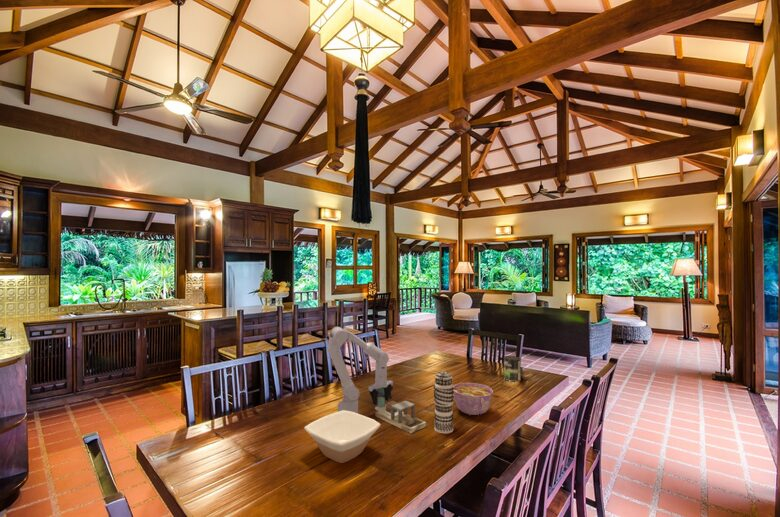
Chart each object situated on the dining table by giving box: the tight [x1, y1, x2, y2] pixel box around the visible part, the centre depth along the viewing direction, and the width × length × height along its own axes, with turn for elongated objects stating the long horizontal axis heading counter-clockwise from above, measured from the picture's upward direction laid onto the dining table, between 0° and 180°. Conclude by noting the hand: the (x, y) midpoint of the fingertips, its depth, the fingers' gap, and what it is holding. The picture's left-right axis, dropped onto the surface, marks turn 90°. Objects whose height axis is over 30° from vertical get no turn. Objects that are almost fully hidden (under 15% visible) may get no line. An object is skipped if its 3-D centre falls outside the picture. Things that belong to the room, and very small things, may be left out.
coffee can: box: [503, 355, 521, 382], centre depth 229 cm, size 10×10×14 cm
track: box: [375, 400, 427, 434], centre depth 166 cm, size 10×24×8 cm, turn 42°
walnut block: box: [385, 400, 398, 413], centre depth 171 cm, size 4×4×4 cm
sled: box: [374, 397, 404, 417], centre depth 172 cm, size 6×14×5 cm, turn 42°
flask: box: [376, 379, 392, 399], centre depth 198 cm, size 9×3×11 cm, turn 65°
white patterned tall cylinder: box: [433, 371, 455, 435], centre depth 159 cm, size 9×9×25 cm
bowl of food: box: [452, 382, 494, 416], centre depth 177 cm, size 20×20×12 cm
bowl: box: [304, 410, 381, 464], centre depth 139 cm, size 24×25×11 cm
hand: (380, 402), depth 177 cm, fingers open, 7 cm apart
